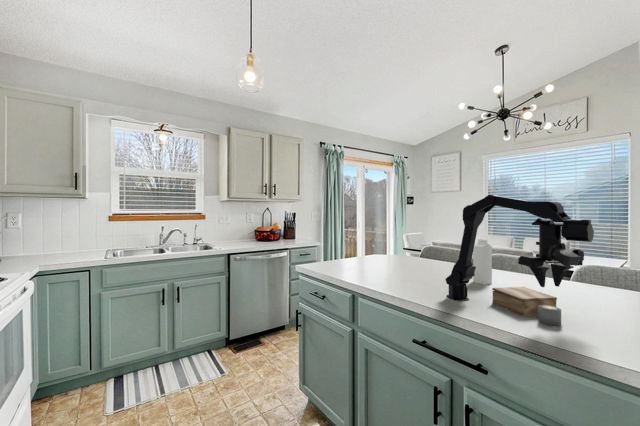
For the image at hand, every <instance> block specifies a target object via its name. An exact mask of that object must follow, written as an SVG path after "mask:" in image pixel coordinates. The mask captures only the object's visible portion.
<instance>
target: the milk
mask: <svg viewBox="0 0 640 426" xmlns="http://www.w3.org/2000/svg"><path fill="white" fill-rule="evenodd" d="M472 259H473V260H472V266H475V267H476V269H475V272H474V274H475V276H473V277H472V282H473V283H476V284H479V285H483V286H484V285H492V284H493V278H492V275H493V270H492V269H493V262H492V261H493V246H492V245H491V244H489V243H488V240H487V239H481V238H480V239H478V238H477V242H475V244H474V249H473V255H472Z"/></svg>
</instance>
